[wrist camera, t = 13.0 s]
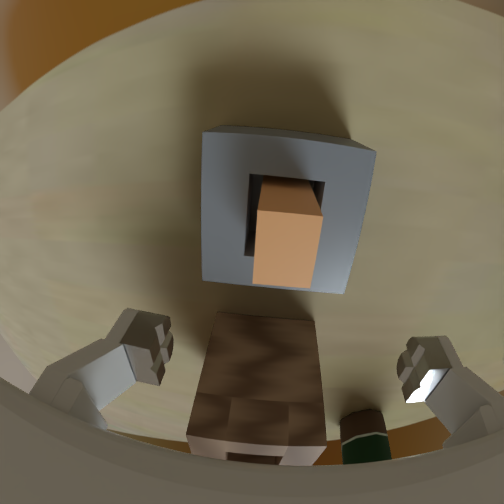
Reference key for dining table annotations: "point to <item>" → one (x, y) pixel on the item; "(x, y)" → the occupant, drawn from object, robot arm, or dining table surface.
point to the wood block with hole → (259, 393)
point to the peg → (286, 233)
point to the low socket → (249, 188)
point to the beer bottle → (364, 438)
